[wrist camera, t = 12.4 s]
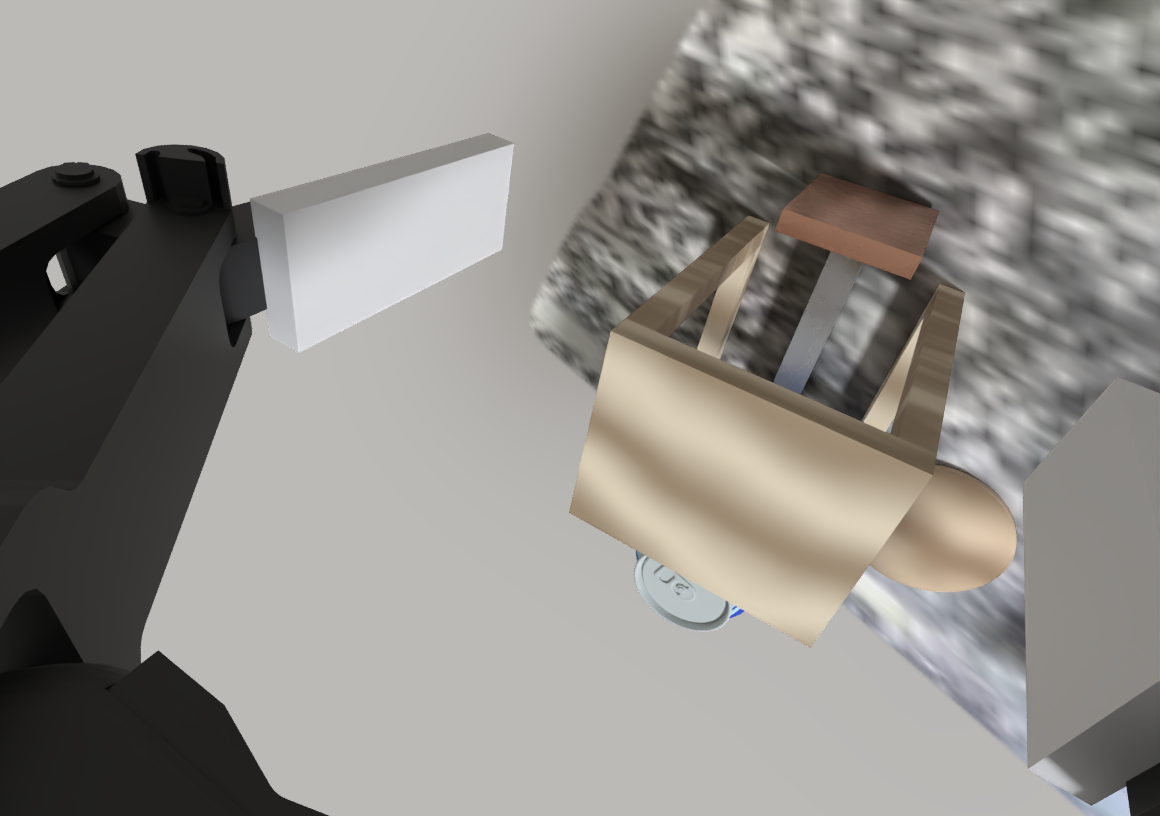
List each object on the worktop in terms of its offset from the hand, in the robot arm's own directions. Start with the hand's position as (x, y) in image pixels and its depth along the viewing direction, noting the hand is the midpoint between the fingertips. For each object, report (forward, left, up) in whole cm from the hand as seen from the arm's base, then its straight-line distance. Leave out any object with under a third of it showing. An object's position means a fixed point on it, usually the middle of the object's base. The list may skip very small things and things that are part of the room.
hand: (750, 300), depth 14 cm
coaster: (+25, +13, -30) cm, 41 cm away
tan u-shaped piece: (+13, 0, -29) cm, 32 cm away
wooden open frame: (+14, 0, -30) cm, 33 cm away
